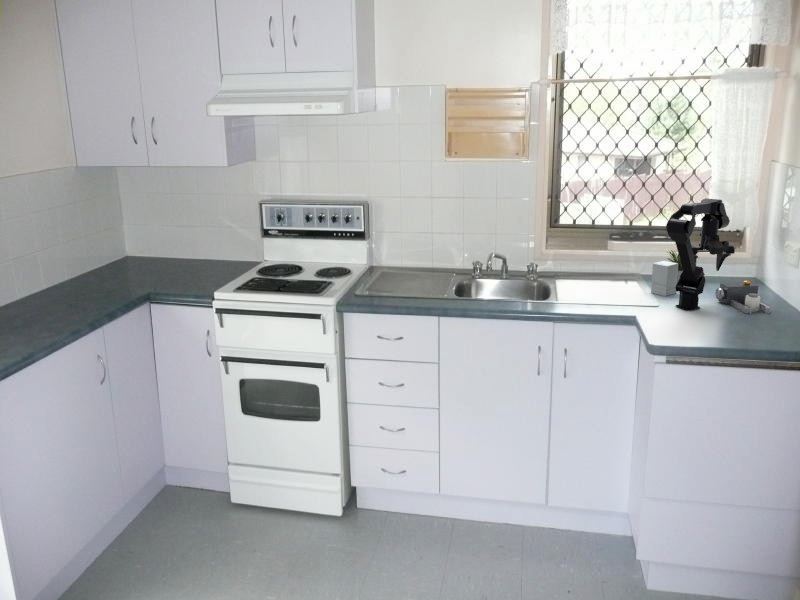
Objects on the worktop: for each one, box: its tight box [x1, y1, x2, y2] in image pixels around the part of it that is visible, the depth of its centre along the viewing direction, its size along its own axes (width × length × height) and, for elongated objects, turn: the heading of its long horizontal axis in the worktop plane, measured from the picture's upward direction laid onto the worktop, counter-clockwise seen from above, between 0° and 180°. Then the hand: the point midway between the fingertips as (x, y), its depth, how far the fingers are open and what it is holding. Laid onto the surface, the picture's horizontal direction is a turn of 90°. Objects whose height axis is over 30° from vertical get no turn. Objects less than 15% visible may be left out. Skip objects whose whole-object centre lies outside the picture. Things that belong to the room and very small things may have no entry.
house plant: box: [666, 248, 700, 282], centre depth 303 cm, size 14×14×16 cm
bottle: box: [743, 293, 761, 313], centre depth 267 cm, size 5×5×6 cm
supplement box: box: [650, 260, 678, 297], centre depth 291 cm, size 7×7×13 cm
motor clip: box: [714, 280, 771, 315], centre depth 271 cm, size 14×18×8 cm
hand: (705, 271), depth 277 cm, fingers open, 9 cm apart
